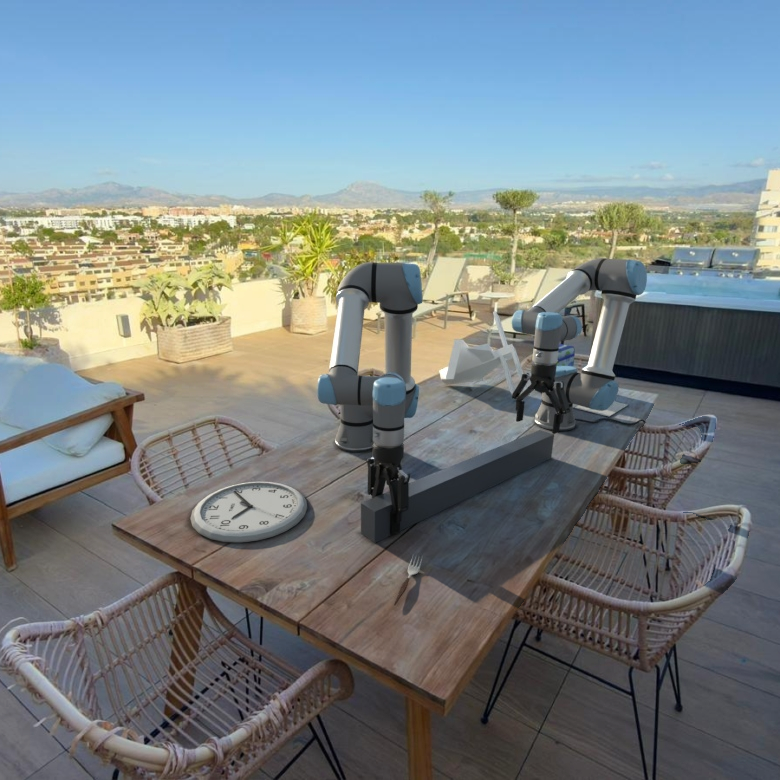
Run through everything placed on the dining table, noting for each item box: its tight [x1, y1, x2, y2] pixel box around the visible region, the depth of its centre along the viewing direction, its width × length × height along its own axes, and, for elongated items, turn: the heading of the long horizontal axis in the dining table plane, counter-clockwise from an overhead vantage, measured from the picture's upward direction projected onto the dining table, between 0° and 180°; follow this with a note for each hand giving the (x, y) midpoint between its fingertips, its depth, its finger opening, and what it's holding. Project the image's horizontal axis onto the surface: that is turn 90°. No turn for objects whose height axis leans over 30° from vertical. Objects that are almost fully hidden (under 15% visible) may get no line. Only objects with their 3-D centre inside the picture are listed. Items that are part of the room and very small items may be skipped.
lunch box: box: [531, 343, 576, 367], centre depth 249 cm, size 26×11×21 cm, turn 134°
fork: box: [393, 553, 424, 606], centre depth 112 cm, size 3×16×2 cm, turn 160°
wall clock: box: [190, 481, 308, 544], centre depth 139 cm, size 30×2×30 cm
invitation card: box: [573, 401, 629, 418], centre depth 226 cm, size 21×1×15 cm
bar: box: [360, 429, 555, 544], centre depth 151 cm, size 77×5×9 cm, turn 131°
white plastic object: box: [438, 310, 531, 397], centre depth 245 cm, size 37×45×31 cm
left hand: (386, 527), depth 132 cm, fingers closed on bar, 5 cm apart
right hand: (537, 426), depth 169 cm, fingers open, 13 cm apart
